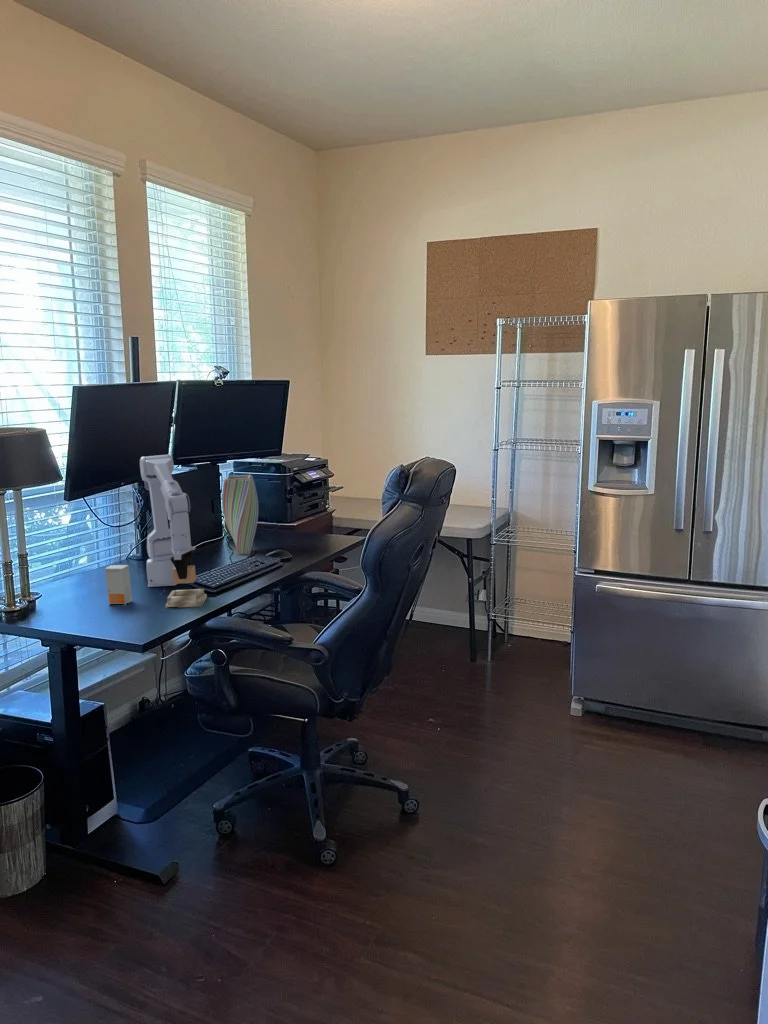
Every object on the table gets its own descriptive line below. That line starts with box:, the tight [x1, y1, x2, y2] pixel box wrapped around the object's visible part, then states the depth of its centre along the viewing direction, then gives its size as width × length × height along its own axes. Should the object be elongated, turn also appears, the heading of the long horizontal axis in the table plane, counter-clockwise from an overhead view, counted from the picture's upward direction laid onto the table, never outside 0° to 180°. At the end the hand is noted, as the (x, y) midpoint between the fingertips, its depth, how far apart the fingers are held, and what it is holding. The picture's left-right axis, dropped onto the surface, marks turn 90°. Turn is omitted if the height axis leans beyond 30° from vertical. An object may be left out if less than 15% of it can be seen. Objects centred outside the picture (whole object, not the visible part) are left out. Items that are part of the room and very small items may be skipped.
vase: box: [221, 474, 259, 555], centre depth 289 cm, size 14×14×30 cm
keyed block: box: [173, 564, 197, 585], centre depth 231 cm, size 4×6×4 cm, turn 94°
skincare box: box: [104, 564, 133, 605], centre depth 233 cm, size 6×4×12 cm
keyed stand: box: [165, 588, 208, 609], centre depth 232 cm, size 11×9×3 cm
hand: (184, 576), depth 231 cm, fingers closed on keyed block, 4 cm apart
